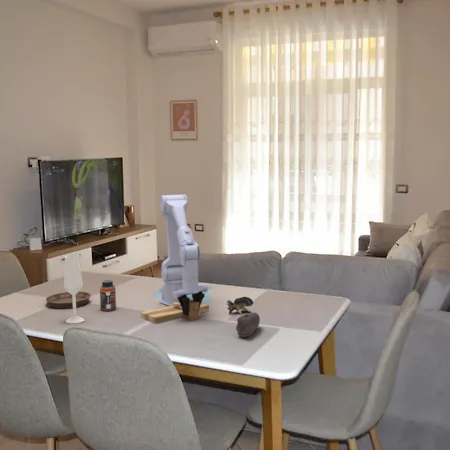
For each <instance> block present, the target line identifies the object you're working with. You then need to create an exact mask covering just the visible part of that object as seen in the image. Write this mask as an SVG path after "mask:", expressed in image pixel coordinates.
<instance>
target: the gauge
mask: <svg viewBox="0 0 450 450" xmlns="http://www.w3.org/2000/svg"><path fill="white" fill-rule="evenodd" d="M172 304H173V306H175V307H178V308H181V309H182V307H181V304H180V303H177V302H173V303H172ZM181 318H183V319H186V320H189V321H194V320H197V319H200V313H199V302H197V301H194V300H193V299H190V301H189V313H188V315H187V316H186V315H184V314H183V310H182V317H181Z"/></svg>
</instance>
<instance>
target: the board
mask: <svg viewBox="0 0 450 450" xmlns="http://www.w3.org/2000/svg"><path fill="white" fill-rule="evenodd" d="M209 311H210V305H208V304H205V303H202V302H201V305H200V309H199V314H202V313H205V312H209ZM140 318H141V319H144V320H145V321H149V322H151V323H153V324H156V325H157V324H160V323H163V322H168V321H172V320H177V319H181V318H183V317H182V309H181V308H178V307H175V306H173V305H171V306H168V305H166V306H164V307H158V308H154V309H150V310H145V311H141V312H140Z"/></svg>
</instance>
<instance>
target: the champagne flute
mask: <svg viewBox="0 0 450 450" xmlns="http://www.w3.org/2000/svg"><path fill="white" fill-rule="evenodd" d="M63 270H64V273H63V274H64V275H63V276H64V277H63V288H64V289H65V292H69V293H70V294H72V301H73V307H72V314H73V315H72V316H70V317H69V318H67V319H66V320H65V323H67V324H78V323H82V322H85V320H84V319H85V318H83V317H81V316H79V315H77V307H76V294H77V293H78V292H81V290H82V288H83V287H84V286H83V284H84V283H83V277H82V276H83V275H82V271H81V270H82V269H81V263H80V255H79V254H66V255H65V256H64V269H63Z"/></svg>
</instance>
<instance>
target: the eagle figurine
mask: <svg viewBox="0 0 450 450" xmlns="http://www.w3.org/2000/svg"><path fill="white" fill-rule="evenodd" d="M253 304H254V301H253V300H252V298H251V297H248V296H242V297H237V298H236V299H235V300H234V301H231V300H230V299H228V300H226V305H227V306H228V307H227V308H226V309H227V310H228V315H230V314H232V313H233V311H235V310H236V311H237V313H239V314H240V316H242V311H241V310H243V311H246V312H248V313H252V311H251V310H248V308H246V307H251V306H253Z"/></svg>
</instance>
